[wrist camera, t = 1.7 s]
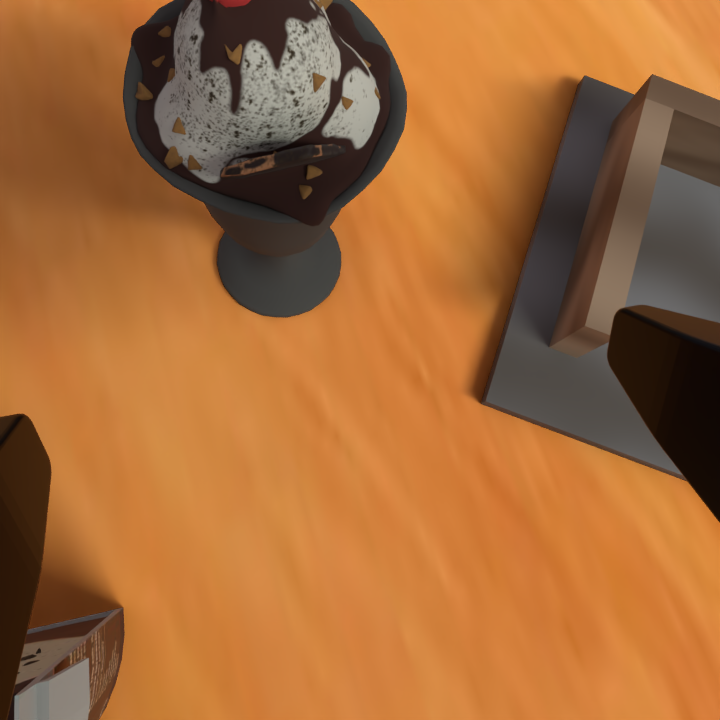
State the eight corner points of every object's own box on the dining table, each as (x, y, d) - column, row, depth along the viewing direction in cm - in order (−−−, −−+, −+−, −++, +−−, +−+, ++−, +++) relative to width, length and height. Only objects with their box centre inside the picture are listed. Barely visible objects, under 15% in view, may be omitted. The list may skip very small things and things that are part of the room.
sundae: (243, 158, 24) (167, -341, 10) (387, 229, 24) (522, -168, 10) (161, 290, 23) (-75, -78, 8) (316, 366, 23) (352, 131, 8)
